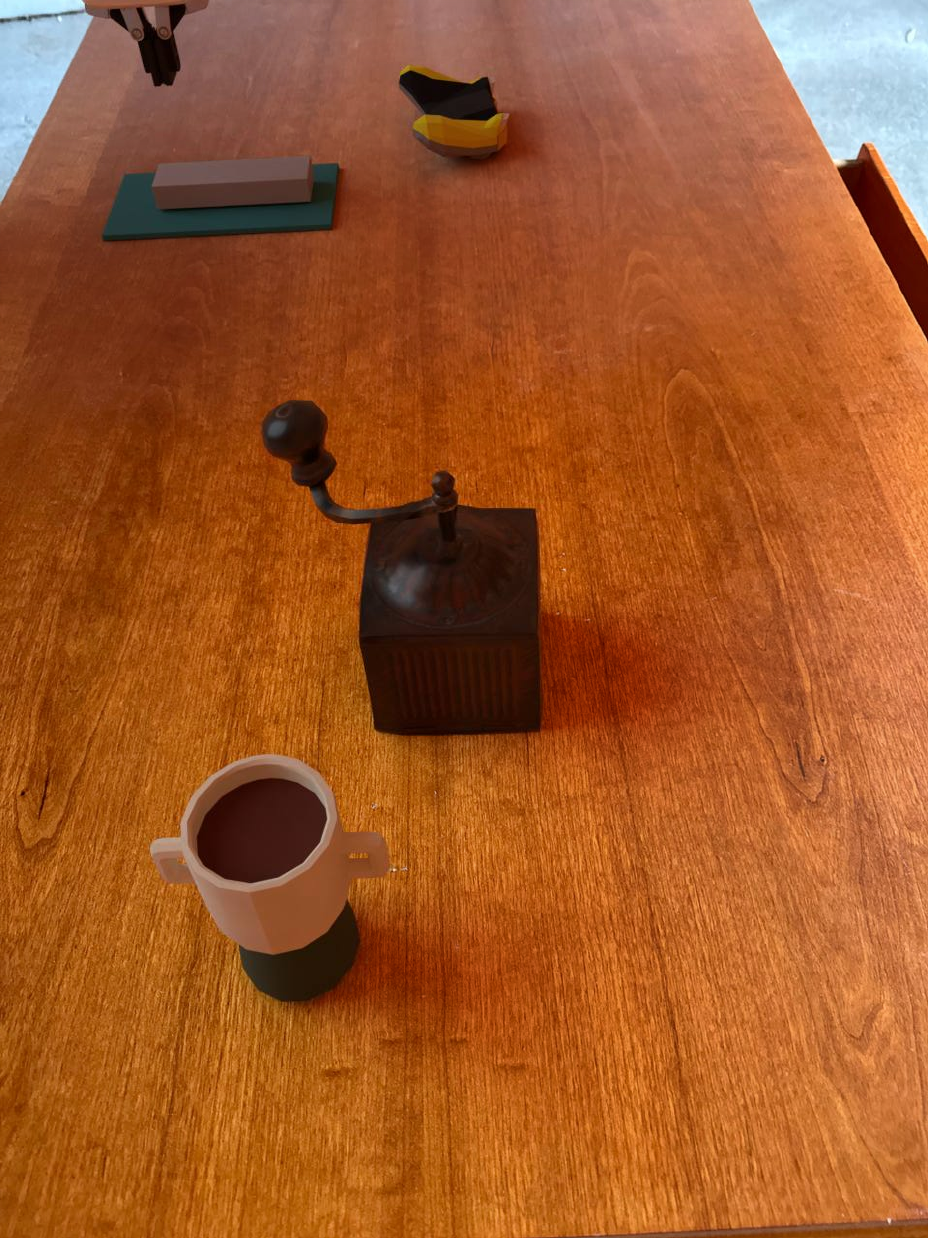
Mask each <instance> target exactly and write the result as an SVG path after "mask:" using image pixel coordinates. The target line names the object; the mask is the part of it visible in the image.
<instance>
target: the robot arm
mask: <svg viewBox="0 0 928 1238" xmlns="http://www.w3.org/2000/svg"><path fill="white" fill-rule="evenodd" d="M81 2H83V3H84V10H85V13H86V14H87V15H88V16H91V17H96V18H102V19H106V20H109V19H111V20H112V21H114V22H115V23H116V24H118V25H119V26H120V27H121V28H123V29H124V30H125V31H127V32H128V33H129V35H130V37H131V39H133V40H134V41H135V42H137V45H138V49H139V53H140V54H139V55H140V58H141V61H142V65H143V70H144V72H145V74H150V75H151V79H152V84H153V87H155V88H156V87H157V88H158V87H162V85H165V86H166V87H172V86H173V85H174V82H175V79H176V76H177V73H179V72H180V71H181V67H182V66H181V59H180V55H179V54H180V53H179V50H178V45H177V41H176V36H175V29H176V28H177V27H178V25H179V24H180V22H181V21H182V19H183V18H184V16H186V15H191V14H194V13H197V12H199V11H202V10H206V9H207V7H209V6H208V5H209V3H210V0H81ZM153 7H154V14H155V15H154V16H155V25H156V27H155V26H153V24H152V23H151V22H150V19H149V17H148V14H147V12H146V9H145V8H153Z"/></svg>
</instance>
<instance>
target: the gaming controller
mask: <svg viewBox="0 0 928 1238" xmlns="http://www.w3.org/2000/svg"><path fill="white" fill-rule="evenodd" d="M495 87H496V80H495V77H489V76H480V77H476V78H475V79H473V80H471V81H466V82H464V81H461V80H459V79H456V78H454V77H451V76H449V75H446V74H443V73H441V72H439V71H436V70H434V69H431V68H429V67H427V66H425V65H422V64H421V65H419V64H407V66H405V67H404V68H403V69H402V70H401V71H400V72H399V77H398V88H399V90H400V91H401V92H402V93H403V94H404V95H405V96H406V97H407V99H408V100H409V101H410V102H411V104H412V105H414V106H415V108H416V109H417V110H418V112H420V114H422V116H420V117H419V118H417V119H416V120H415V121H413V125H412V136H413V137H414V138H415V139H416V140H417V141H418V142H419V143H421V145H423V146H424V147H425V148H426V149H427V150H429V151H431V152H433V153H435V154H437V155H439V156H441V157H442V158H448V157H468V156H469V157H470V158H471V159H473V160H484V159H488V158H490V157H491V155H492V154H493V153H496V152H499V151H501V149H502V148H503V147H504V146H505V145H506V143H507V142H508V125H507V122H508V120H509V116H510V113H507V112H506V113H505V112H502V111H501V112H499V111H498V100H497V99H496V98H495V97H494V91H495Z"/></svg>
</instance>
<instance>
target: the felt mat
mask: <svg viewBox="0 0 928 1238" xmlns="http://www.w3.org/2000/svg"><path fill="white" fill-rule="evenodd" d="M312 167H313V174H314V183H313V190H312V197H311V202H295V203H276V204H256V205H236V206H217V207H197V208H178V209H157V206H156V202H155V198H154V194H153V191H152V184H153V181H154V178H155V175H156V172H157V171H156V172H138V173H124V174H123V177H122V179H121V183H120V185H119V188H118V190H117V193H116V196H115V198H114V202H113V204H112V207H111V210H110V212H109V215H108V218H107V221H106V223H105V225H104V229H103V231H102V234H101V237H102V240H103V241H104V242H107V241H108V242H109V241H125V240H126V241H128V240H129V241H131V240H145V239H148V240H149V239H163V238H164V239H167V238H168V239H169V238H188V237H189V238H190V237H207V236H227V235H247V234H264V233H283V232H285V233H286V232H305V231H324V230H326V231H329V230H332V229H333V222H334V214H335V208H336V197H337V189H338V181H339V172H340V164H339V162H335V163H334V162H330V163H329V162H328V163H312Z"/></svg>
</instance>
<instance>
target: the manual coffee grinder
mask: <svg viewBox="0 0 928 1238" xmlns="http://www.w3.org/2000/svg"><path fill="white" fill-rule="evenodd" d="M328 430H329V421H328V417H327V415H326V414H325V413H324V411H323V410H322V409H321V408H320V407H319V405H317V404H316V403H315V402H314V401H313V400H311V399H309V400H308V399H307V400H306V399H290V400H287V401H285V402H282V403H280V404H278V405H276V406H275V407H274V408H272V409H270V410H269V411H268V412H267V414H266V415H265V416H264V419H263V420H262V422H261V430H260V431H261V436H262V437H261V439H262V444H263V446H264V448H265V450H266V452H267V453H268V454H269V455H271V456H272V457H273V458H277V459H279V460H282V461H284V462H287V463H288V464H289V465H290V477H291V481H292V482H293V483H294V485H296V486H298V487H308V489H309V491H310V495H311V496H312V499H313V503H314V504H315V506H316V508H317V510H318V511H319V512H320V513H321V514H322V515H323V516H324V517H325V518H326V519H329V520H330V521H331V522H335V523H336V524H345V525H365V524H366V525H368V524H369V527H368V531H367V537H366V543H365V551H364V552H365V553H364V561H363V570H362V578H361V579H362V580H361V585H360V592H359V593H360V594H359V597H358V598H359V599H358V643H359V650H360V655H361V659H362V664H363V669H364V673H365V679H366V683H367V688H368V694H369V699H370V704H371V712H372V718H373V719H372V720H373V730H375V731H376V732H378V733H385V734H391V735H398V736H473V735H474V736H475V735H477V736H478V735H491V734H492V735H496V734H514V733H534V732H535V733H536V732H540V731H541V728H542V721H543V720H542V719H543V711H544V709H543V708H544V693H543V692H544V690H543V679H542V678H543V677H542V637H541V636H542V635H541V633H542V632H541V618H542V617H541V616H542V597H541V596H542V595H541V594H542V592H541V590H542V589H541V587H542V586H541V542H540V527H539V525H540V524H539V521H538V516H537V508H536V507H477V506H470V505H465V504H459V499H460V498H459V493H458V492H457V491H456V489H454V488H455V484H456V477H455V476H453V475H452V474H451V473H450V472H448V471H447V470H445V469H441V470H438V471H436V472H435V473H434V476H433V477H432V480H431V482H430V486H431V488H432V490H433V492H432V494H431V496H429V497H425V498H422V499H418V500H415V501H410V502H407V503H403V504H401V505H397V506H390V507H389V506H388V507H379V508H365V509H364V508H363V509H356V508H348V507H344V506H342V505H341V504H339V503H337V502H335V500H333V498H332V497H331V495H330V492H329V490H328V486H327V483H326V482H327V481H328V480H329V478H330V477H331V476H332V475H333V474H334V472H335V470H336V468H337V466H338V462H337V460H336V458H335V457H334V454H333V453H332V452H330V451H328V449H326V447H325V446H326V436H327V433H328Z"/></svg>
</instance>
